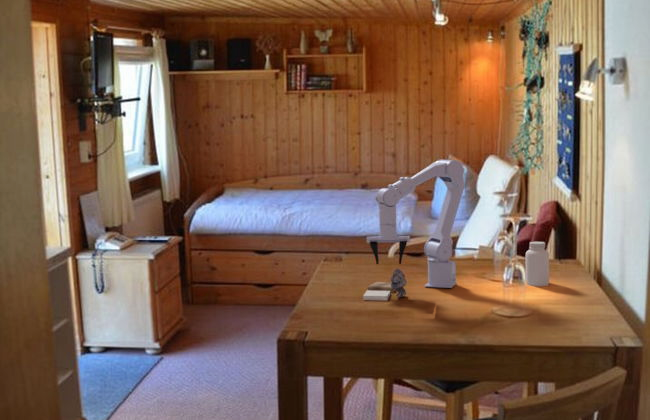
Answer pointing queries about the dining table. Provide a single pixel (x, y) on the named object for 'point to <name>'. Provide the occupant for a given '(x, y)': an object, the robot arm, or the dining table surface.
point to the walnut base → (381, 287)
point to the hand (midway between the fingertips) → (388, 263)
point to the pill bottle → (537, 265)
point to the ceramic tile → (376, 295)
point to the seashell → (398, 282)
